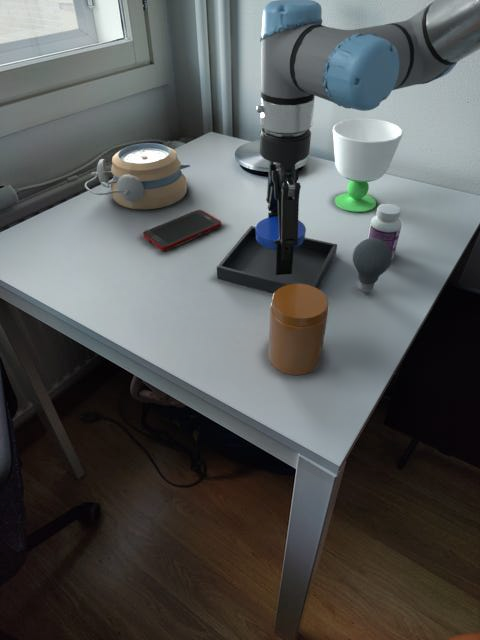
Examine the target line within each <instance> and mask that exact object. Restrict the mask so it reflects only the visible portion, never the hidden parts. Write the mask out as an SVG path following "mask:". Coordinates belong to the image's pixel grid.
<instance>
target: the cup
mask: <svg viewBox="0 0 480 640" xmlns="http://www.w3.org/2000/svg"><path fill="white" fill-rule="evenodd" d="M403 134H404V131H403V129H402V128H401V127H400V126H399V125H398V124H395V123H393V122H390V121H387V120H383V119H378V118H367V117H360V118H349V119H343V120H341V121H339V122H337V123H335V124H334V126H333V128H332V139H333V153H334V165H335V168H336V170H337V172H338V174H339V175H340V176H342V177H343V178H344V179H347V180H349V182H348V184H347V186H346V192H344V193H340V194H339V195H337V196H335V199H334V204H335V205H336V206H337V207H338V208H340V209H341V210H343V211H346V212H353V213H366V212H370V211H372V210H374V209H375V208H376V207H377V201H376V199H375V198H374V197H372V196H370V195H368V192H369V188H370V186H369V183H370V182H374V181H377V180H379V179H381V178H382V177H383V176H384V175H386V173H387V172H388V170H389V168H390V166H391V163H392V161H393V158H394V156H395V153H396V151H397V149H398V147H399V144H400V142H401V140H402V137H403Z"/></svg>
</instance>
